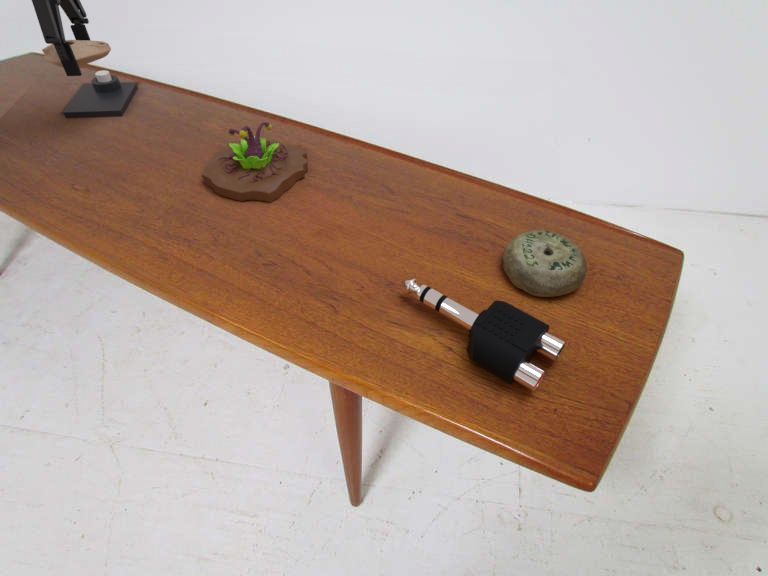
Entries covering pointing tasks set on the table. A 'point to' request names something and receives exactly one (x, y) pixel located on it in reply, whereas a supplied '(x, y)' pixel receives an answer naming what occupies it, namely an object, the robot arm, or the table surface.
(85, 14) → the robot arm
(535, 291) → the weight
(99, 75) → the button
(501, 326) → the audio adapter
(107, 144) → the table surface
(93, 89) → the scale
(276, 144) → the plant
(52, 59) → the pottery oil lamp
